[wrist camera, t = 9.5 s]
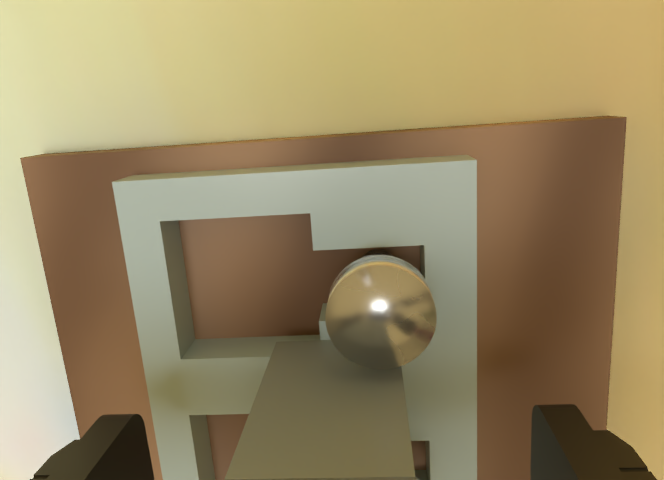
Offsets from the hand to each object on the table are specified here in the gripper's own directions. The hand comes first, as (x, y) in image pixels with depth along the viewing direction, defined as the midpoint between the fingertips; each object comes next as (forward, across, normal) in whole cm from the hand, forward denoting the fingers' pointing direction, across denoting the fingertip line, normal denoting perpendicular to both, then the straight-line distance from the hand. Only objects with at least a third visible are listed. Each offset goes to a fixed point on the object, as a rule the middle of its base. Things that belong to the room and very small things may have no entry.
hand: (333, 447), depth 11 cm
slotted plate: (+4, +1, 0) cm, 4 cm away
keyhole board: (+5, 0, 0) cm, 5 cm away
